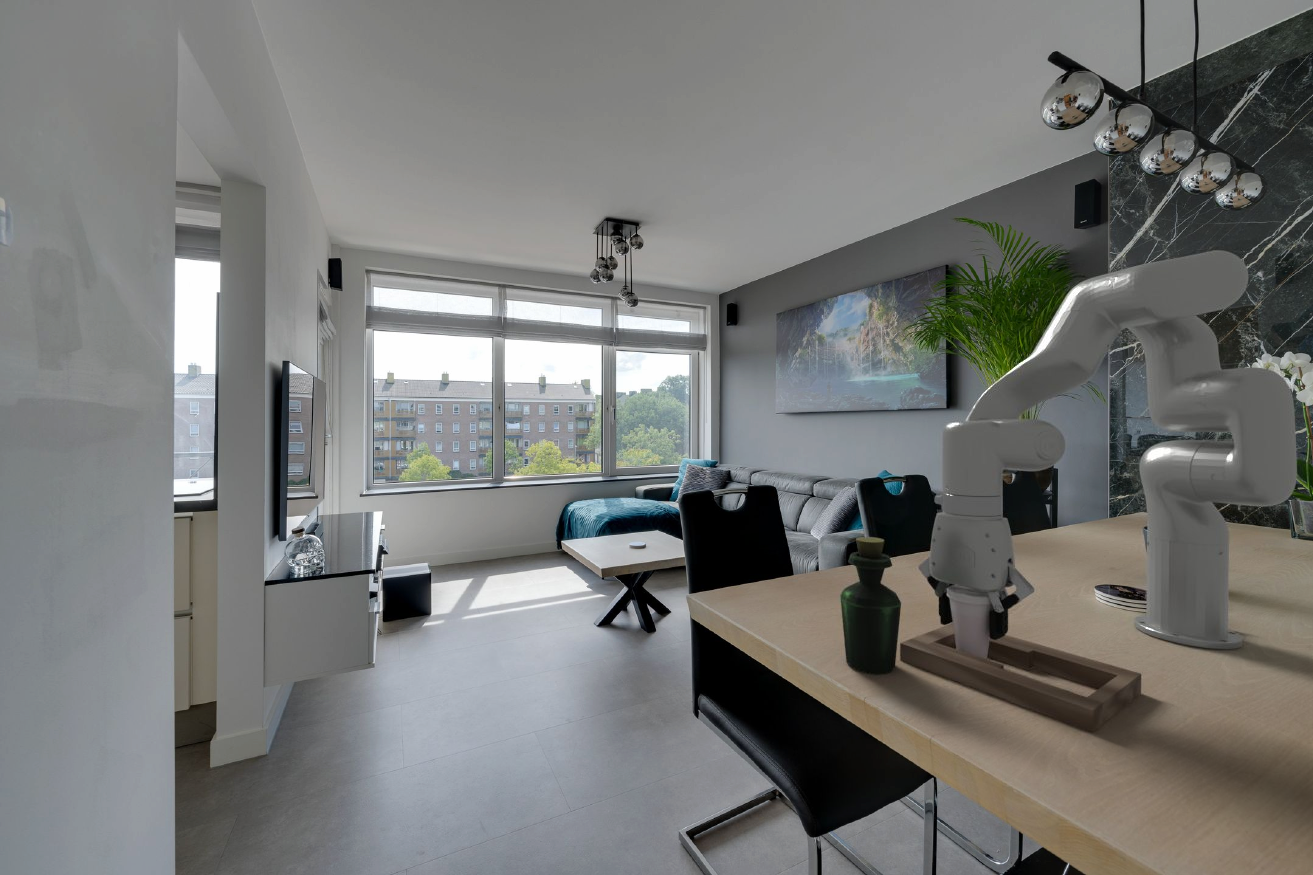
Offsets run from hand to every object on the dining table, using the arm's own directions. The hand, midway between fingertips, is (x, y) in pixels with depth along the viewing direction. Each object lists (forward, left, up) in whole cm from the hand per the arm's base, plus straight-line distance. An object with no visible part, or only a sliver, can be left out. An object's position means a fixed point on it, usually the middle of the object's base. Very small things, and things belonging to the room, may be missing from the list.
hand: (972, 628), depth 79 cm
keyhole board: (0, +5, -5) cm, 7 cm away
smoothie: (0, 0, -4) cm, 4 cm away
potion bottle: (+13, -8, -5) cm, 16 cm away
